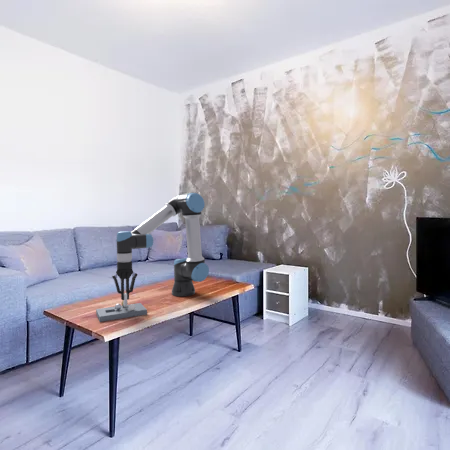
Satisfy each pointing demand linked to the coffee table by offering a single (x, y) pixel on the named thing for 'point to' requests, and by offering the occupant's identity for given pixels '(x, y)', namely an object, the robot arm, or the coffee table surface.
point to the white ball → (132, 307)
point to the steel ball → (118, 306)
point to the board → (120, 312)
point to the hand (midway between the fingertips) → (125, 305)
